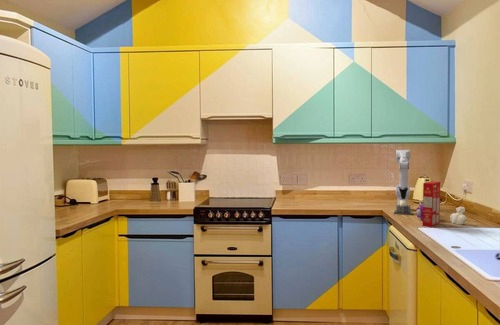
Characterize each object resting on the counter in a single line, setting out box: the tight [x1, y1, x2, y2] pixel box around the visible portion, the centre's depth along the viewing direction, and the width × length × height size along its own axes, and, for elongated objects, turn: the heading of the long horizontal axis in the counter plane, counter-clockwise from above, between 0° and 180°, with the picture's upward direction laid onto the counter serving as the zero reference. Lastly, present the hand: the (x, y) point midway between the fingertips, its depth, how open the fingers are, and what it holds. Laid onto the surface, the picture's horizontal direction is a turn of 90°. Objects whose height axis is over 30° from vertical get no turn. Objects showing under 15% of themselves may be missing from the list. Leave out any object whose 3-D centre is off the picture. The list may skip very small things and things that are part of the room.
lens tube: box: [393, 204, 413, 216], centre depth 299 cm, size 11×11×5 cm
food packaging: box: [421, 181, 441, 228], centre depth 258 cm, size 15×5×25 cm, turn 141°
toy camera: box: [415, 203, 423, 220], centre depth 274 cm, size 11×14×10 cm
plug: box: [400, 200, 407, 206], centre depth 299 cm, size 4×4×6 cm
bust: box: [449, 206, 467, 225], centre depth 262 cm, size 12×8×11 cm
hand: (403, 198), depth 299 cm, fingers closed
